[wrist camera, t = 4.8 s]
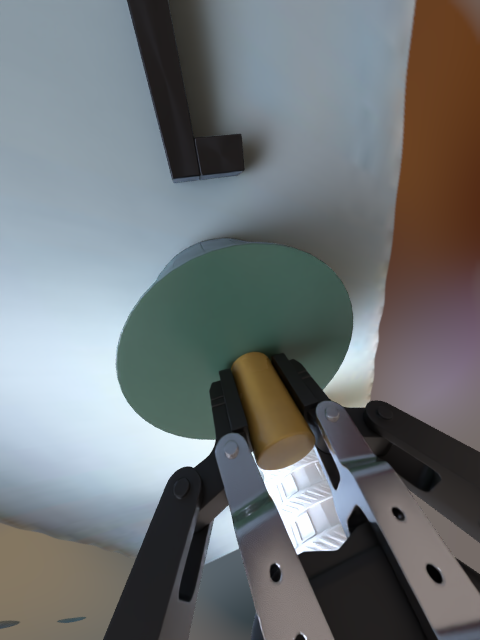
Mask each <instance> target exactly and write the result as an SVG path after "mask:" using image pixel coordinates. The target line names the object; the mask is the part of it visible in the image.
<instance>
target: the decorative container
mask: <svg viewBox="0 0 480 640" xmlns="http://www.w3.org/2000/svg"><path fill="white" fill-rule="evenodd" d="M260 469H261V468H260ZM261 471H262V472H263V474H264V477H265V480H264V483H265V486H266V489H267V491H268V493H269V495H270V496H271V498H272V499H273V501H274V503H275V505H276V507H277V509H278V512H279V514H280V516H281V518H282V521H283V523H284V525H285V528H286V530H287V532H288V534H289V537H290V539H291V541H292V544H293V546H294V548H295V550H296V553H297V555H298V554H300V553H302V552H304V551H335V550H338V549H339V548H340V547H341V546H342V544H343V543H344V542H345V541H346V540H347V538H346V535H345V533H344V530H343V528H342V525H341V523H340V520H339V518H338V515H337V512H336V509H335V506H334V502H333V496H332V493H331V490H330V487H329V485H328V482H327V480H326V477H325V475H324V473H323V470H322V468H321V465H320V463H319V460H318V458H317V456H316V453H315V451H314V448H313V449H312V450H311V451H310V452H309V453H308V454H307V455H306V456H305V457H304V458H303V459H301V460H300V461H298V462H296V463H295V464H293V465H291V466H288V467H286V468H282V469H278V470H271V471H269V470H263V469H261Z"/></svg>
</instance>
